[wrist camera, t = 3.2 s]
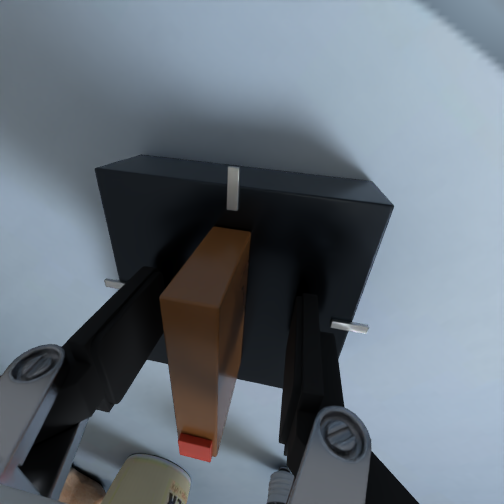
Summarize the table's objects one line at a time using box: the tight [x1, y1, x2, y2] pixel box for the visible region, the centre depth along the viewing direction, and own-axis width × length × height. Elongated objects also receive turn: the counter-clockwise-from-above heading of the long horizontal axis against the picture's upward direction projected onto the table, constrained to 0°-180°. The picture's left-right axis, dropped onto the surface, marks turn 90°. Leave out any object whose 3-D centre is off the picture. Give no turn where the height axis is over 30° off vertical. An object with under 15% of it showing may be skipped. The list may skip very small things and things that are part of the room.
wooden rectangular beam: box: [159, 227, 251, 462], centre depth 9 cm, size 7×1×4 cm, turn 176°
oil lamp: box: [58, 467, 106, 504], centre depth 33 cm, size 9×4×8 cm
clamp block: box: [95, 155, 394, 389], centre depth 12 cm, size 11×11×3 cm
